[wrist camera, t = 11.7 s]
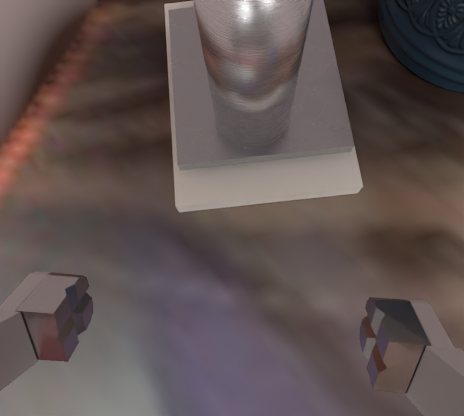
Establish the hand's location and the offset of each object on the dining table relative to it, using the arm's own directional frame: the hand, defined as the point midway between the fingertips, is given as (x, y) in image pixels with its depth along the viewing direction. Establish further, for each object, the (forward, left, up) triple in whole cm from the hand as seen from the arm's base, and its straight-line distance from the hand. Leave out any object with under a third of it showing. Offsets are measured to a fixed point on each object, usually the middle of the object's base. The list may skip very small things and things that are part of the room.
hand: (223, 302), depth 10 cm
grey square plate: (-2, -13, -9) cm, 17 cm away
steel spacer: (-2, -11, -8) cm, 13 cm away
